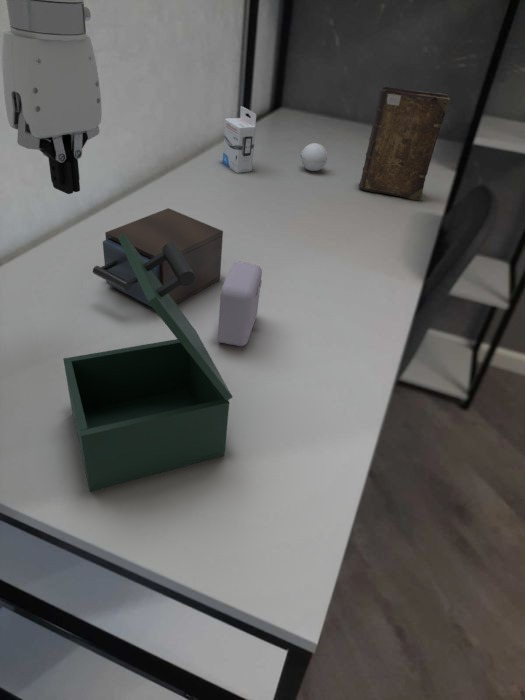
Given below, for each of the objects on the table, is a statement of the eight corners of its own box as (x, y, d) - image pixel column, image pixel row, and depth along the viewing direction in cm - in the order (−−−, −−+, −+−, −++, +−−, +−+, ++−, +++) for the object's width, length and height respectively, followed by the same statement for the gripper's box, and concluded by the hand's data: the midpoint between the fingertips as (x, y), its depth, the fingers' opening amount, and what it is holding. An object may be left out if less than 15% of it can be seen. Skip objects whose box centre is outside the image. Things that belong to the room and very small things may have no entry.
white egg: (301, 164, 150) (305, 137, 146) (326, 169, 149) (331, 142, 145) (294, 174, 143) (298, 147, 138) (320, 179, 142) (325, 152, 137)
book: (357, 190, 138) (380, 87, 123) (359, 181, 144) (382, 82, 129) (420, 202, 136) (451, 99, 121) (420, 193, 141) (450, 93, 126)
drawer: (136, 320, 80) (133, 276, 75) (86, 292, 85) (81, 249, 80) (209, 279, 92) (211, 238, 88) (162, 256, 97) (161, 217, 92)
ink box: (221, 162, 144) (224, 105, 135) (237, 161, 146) (241, 105, 138) (236, 173, 139) (241, 114, 130) (252, 171, 141) (258, 114, 132)
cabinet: (163, 312, 84) (163, 259, 78) (109, 283, 89) (105, 232, 83) (220, 279, 94) (223, 231, 88) (168, 255, 99) (168, 208, 93)
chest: (89, 491, 56) (80, 436, 51) (72, 412, 65) (63, 358, 60) (224, 455, 62) (229, 402, 57) (192, 387, 71) (193, 336, 66)
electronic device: (247, 351, 78) (253, 295, 72) (217, 345, 79) (220, 289, 73) (258, 315, 86) (265, 262, 80) (231, 310, 87) (235, 257, 81)
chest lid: (148, 301, 45) (193, 273, 45) (117, 237, 53) (155, 213, 54) (226, 401, 56) (262, 378, 57) (191, 334, 65) (221, 315, 65)
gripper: (80, 13, 61) (92, 169, 72) (-43, 12, 51) (-7, 194, 62) (126, 24, 58) (131, 185, 69) (5, 25, 48) (34, 214, 59)
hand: (66, 189), depth 66 cm, fingers closed
